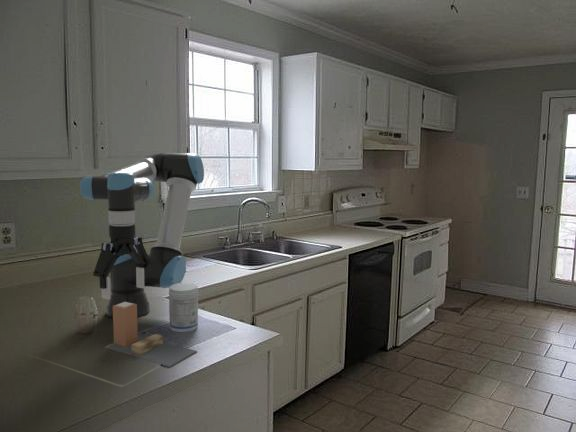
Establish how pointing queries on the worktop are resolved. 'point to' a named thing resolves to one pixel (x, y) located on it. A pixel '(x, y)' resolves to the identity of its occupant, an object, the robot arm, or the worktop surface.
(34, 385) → the worktop surface
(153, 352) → the mat
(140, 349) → the ledge
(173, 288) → the supplement tub
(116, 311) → the block
